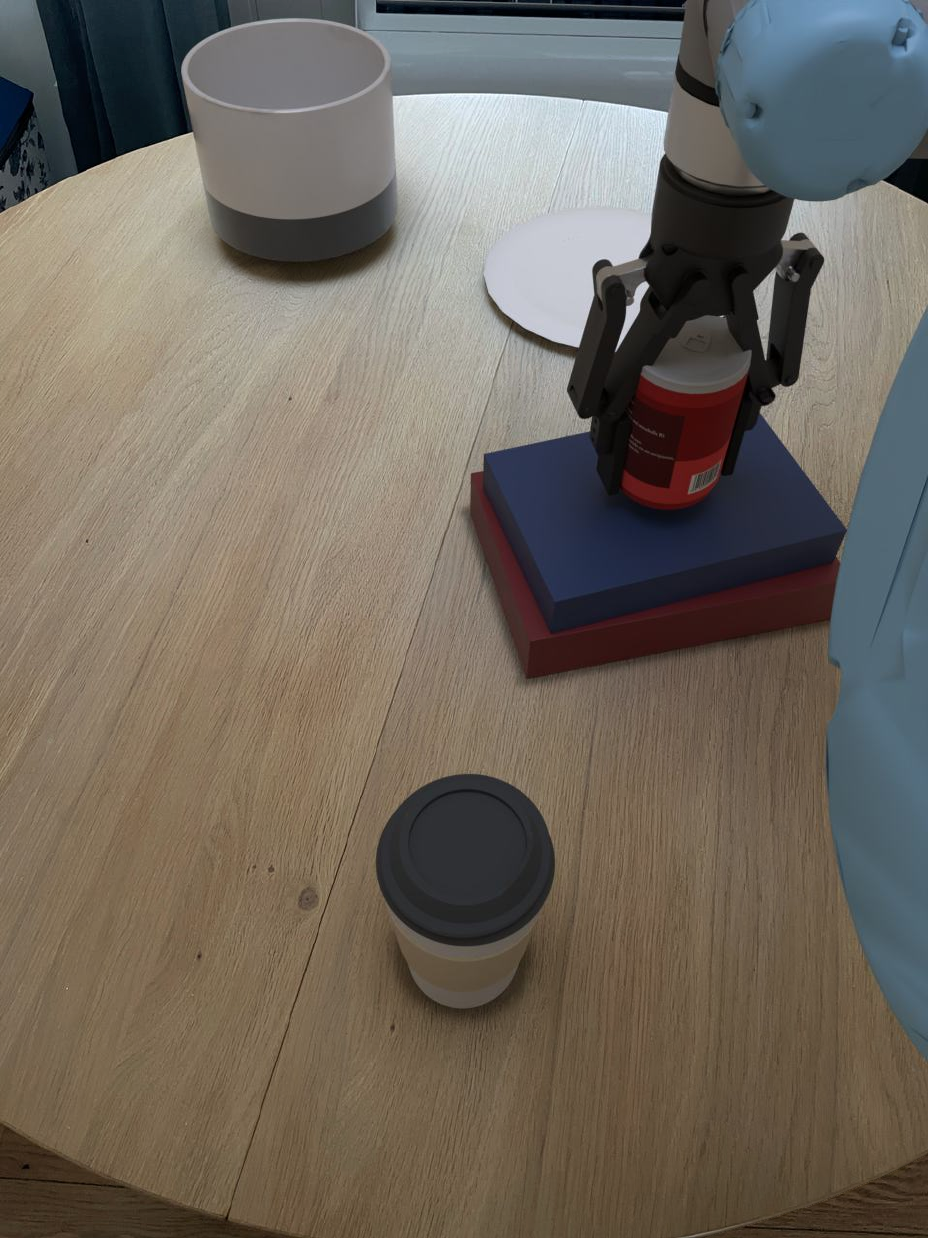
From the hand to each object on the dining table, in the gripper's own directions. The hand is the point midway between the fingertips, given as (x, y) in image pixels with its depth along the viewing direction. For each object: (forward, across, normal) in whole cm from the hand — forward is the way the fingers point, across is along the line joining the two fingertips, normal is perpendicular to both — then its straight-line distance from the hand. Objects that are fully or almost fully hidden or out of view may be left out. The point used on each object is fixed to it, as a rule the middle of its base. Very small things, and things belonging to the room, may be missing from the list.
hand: (664, 471), depth 74 cm
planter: (+10, +19, -52) cm, 56 cm away
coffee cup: (+10, +21, +27) cm, 35 cm away
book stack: (+10, 0, 0) cm, 10 cm away
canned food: (0, 0, 0) cm, 0 cm away
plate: (+10, -9, -36) cm, 39 cm away
